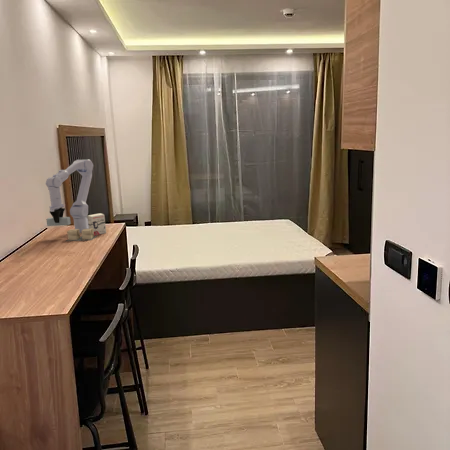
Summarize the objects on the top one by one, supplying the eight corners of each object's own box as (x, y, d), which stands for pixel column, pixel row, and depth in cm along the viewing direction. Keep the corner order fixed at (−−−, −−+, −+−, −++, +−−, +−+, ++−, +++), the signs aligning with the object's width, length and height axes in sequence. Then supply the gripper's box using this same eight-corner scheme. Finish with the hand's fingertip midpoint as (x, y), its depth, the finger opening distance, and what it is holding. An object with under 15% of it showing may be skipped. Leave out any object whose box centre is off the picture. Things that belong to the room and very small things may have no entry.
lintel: (47, 226, 246) (46, 219, 245) (50, 224, 250) (49, 217, 249) (68, 225, 245) (67, 218, 244) (70, 223, 249) (69, 216, 248)
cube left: (71, 238, 246) (70, 229, 245) (80, 237, 246) (79, 229, 245) (68, 240, 241) (67, 231, 240) (77, 239, 241) (76, 231, 240)
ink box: (93, 236, 249) (91, 216, 247) (89, 235, 253) (87, 215, 250) (106, 233, 255) (104, 213, 252) (102, 232, 258) (100, 213, 256)
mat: (72, 237, 249) (72, 236, 249) (97, 236, 249) (97, 235, 249) (64, 242, 239) (64, 241, 238) (91, 240, 238) (91, 240, 238)
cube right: (85, 237, 245) (84, 228, 244) (94, 237, 245) (93, 228, 244) (82, 239, 241) (81, 230, 240) (91, 239, 240) (90, 230, 239)
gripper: (54, 196, 252) (57, 219, 254) (43, 200, 237) (46, 224, 240) (66, 196, 251) (69, 219, 254) (55, 200, 237) (58, 224, 240)
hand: (58, 222), depth 247 cm, fingers closed on lintel, 4 cm apart
